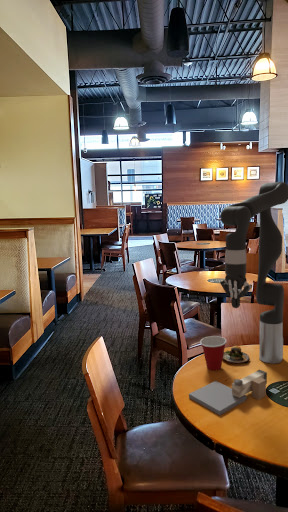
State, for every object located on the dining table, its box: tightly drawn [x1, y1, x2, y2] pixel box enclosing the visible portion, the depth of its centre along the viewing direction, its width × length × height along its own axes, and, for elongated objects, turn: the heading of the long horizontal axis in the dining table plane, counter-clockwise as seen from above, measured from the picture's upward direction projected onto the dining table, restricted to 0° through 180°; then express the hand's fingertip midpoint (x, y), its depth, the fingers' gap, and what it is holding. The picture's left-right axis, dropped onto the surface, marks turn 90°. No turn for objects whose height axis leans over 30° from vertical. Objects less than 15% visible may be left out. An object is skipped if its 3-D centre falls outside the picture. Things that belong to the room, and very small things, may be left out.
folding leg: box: [231, 369, 268, 398], centre depth 128 cm, size 16×3×5 cm, turn 127°
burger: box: [223, 345, 250, 364], centre depth 155 cm, size 12×12×8 cm
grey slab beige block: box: [188, 377, 267, 416], centre depth 126 cm, size 21×17×6 cm
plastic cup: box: [199, 335, 227, 371], centre depth 148 cm, size 11×11×12 cm
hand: (235, 307), depth 133 cm, fingers closed
